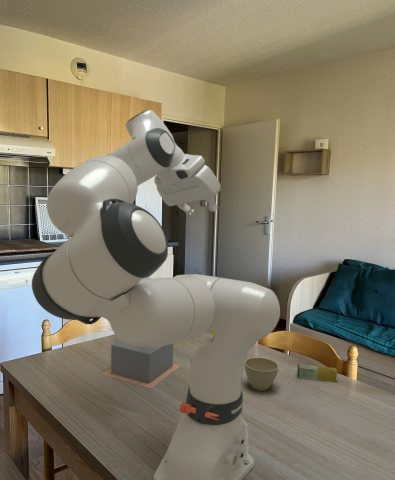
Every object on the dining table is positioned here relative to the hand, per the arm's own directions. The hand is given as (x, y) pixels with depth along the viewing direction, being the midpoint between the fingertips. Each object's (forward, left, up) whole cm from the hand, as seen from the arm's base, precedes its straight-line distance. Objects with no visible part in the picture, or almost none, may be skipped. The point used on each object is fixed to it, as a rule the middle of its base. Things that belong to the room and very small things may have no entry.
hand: (202, 212), depth 106 cm
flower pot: (+14, -14, -52) cm, 56 cm away
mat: (+5, +22, -52) cm, 56 cm away
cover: (+5, +22, -51) cm, 56 cm away
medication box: (+28, -28, -52) cm, 66 cm away
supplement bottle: (+41, +10, -52) cm, 67 cm away
